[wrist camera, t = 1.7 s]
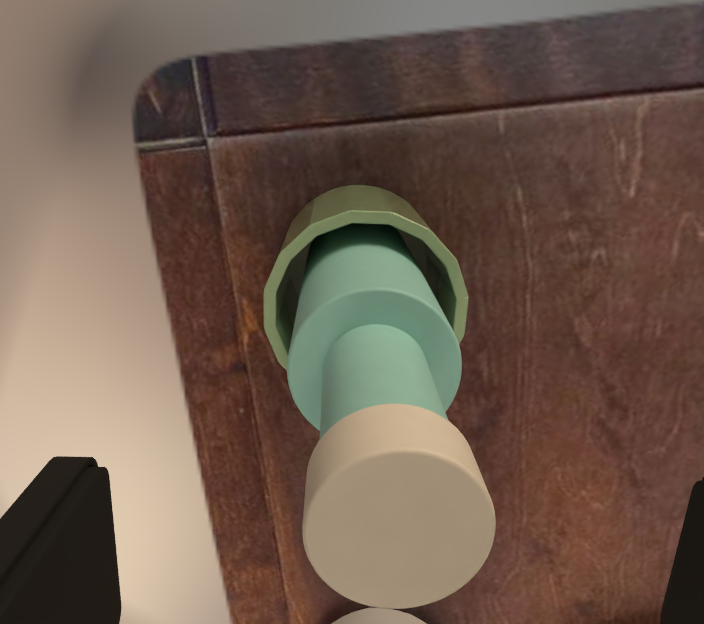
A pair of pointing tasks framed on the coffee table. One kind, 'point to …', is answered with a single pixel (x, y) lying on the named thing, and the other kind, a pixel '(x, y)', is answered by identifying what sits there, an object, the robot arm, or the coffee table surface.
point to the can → (378, 617)
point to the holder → (365, 209)
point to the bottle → (383, 427)
